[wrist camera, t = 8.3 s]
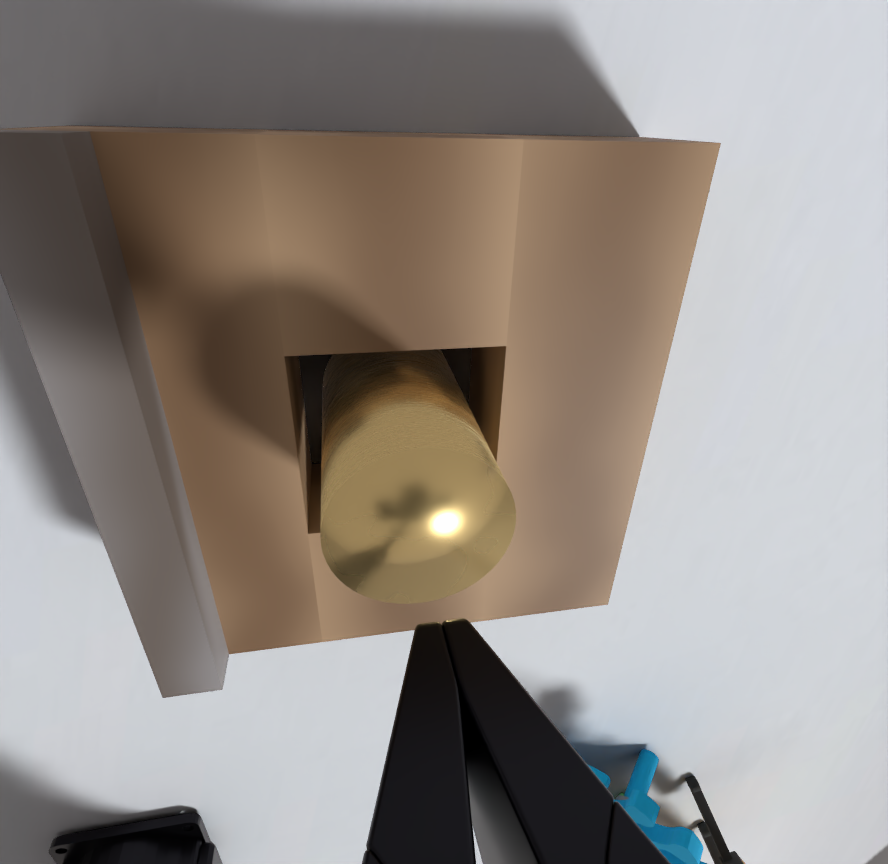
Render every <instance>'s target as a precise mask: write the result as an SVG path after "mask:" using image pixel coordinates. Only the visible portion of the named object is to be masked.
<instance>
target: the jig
mask: <svg viewBox="0 0 888 864" xmlns="http://www.w3.org/2000/svg"><path fill="white" fill-rule="evenodd" d="M720 144H721V143H712V142H699V141H686V140H673V139H659V138H646V137H609V136H559V135H510V134H461V133H411V132H362V131H312V130H263V129H214V128H164V127H115V126H51V127H29V128H7V129H0V273H1V276H2V278H3V281H4V284H5V286H6V289H7V292H8V294H9V297H10V299H11V302H12V305H13V307H14V310H15V312H16V315H17V318H18V320H19V323H20V326H21V328H22V331H23V333H24V336H25V339H26V341H27V344H28V346H29V349H30V352H31V354H32V357H33V360H34V362H35V365H36V367H37V370H38V373H39V375H40V378H41V381H42V383H43V386H44V388H45V391H46V394H47V396H48V399H49V401H50V404H51V407H52V409H53V412H54V415H55V417H56V420H57V422H58V425H59V428H60V430H61V433H62V435H63V438H64V441H65V443H66V446H67V449H68V451H69V454H70V456H71V459H72V462H73V464H74V467H75V469H76V472H77V475H78V477H79V480H80V483H81V485H82V488H83V490H84V493H85V496H86V498H87V501H88V503H89V506H90V509H91V511H92V514H93V517H94V519H95V522H96V524H97V527H98V530H99V532H100V535H101V538H102V540H103V543H104V545H105V548H106V551H107V553H108V556H109V558H110V561H111V564H112V566H113V569H114V572H115V574H116V577H117V579H118V582H119V585H120V587H121V590H122V592H123V595H124V598H125V600H126V603H127V606H128V608H129V611H130V613H131V616H132V619H133V621H134V624H135V626H136V629H137V632H138V634H139V637H140V640H141V642H142V645H143V647H144V650H145V653H146V655H147V658H148V660H149V663H150V666H151V668H152V671H153V674H154V676H155V679H156V681H157V684H158V687H159V689H160V692H161V695H162V697H163V698H166V697H173V696H180V695H187V694H194V693H201V692H208V691H215V690H222V689H223V684H224V678H225V673H226V668H227V662H228V657H229V654H234V653H242V652H250V651H257V650H265V649H272V648H280V647H288V646H295V645H303V644H311V643H318V642H326V641H333V640H341V639H349V638H356V637H364V636H371V635H379V634H387V633H394V632H402V631H409V630H415V628H416V626H417V625H418V624H422V623H429V622H440V623H441V625H442V622H443V621H445V620H452V619H460V618H464V619H467V620H468V621H469V622H478V621H485V620H493V619H501V618H508V617H516V616H523V615H531V614H539V613H546V612H554V611H561V610H569V609H577V608H584V607H592V606H600V605H607V604H608V602H609V598H610V594H611V590H612V585H613V581H614V577H615V573H616V569H617V565H618V561H619V557H620V553H621V549H622V545H623V541H624V536H625V532H626V528H627V524H628V520H629V516H630V512H631V508H632V504H633V500H634V496H635V491H636V487H637V483H638V479H639V475H640V471H641V467H642V463H643V459H644V455H645V451H646V447H647V442H648V438H649V434H650V430H651V426H652V422H653V418H654V414H655V410H656V406H657V402H658V397H659V393H660V389H661V385H662V381H663V377H664V373H665V369H666V365H667V361H668V357H669V352H670V348H671V344H672V340H673V336H674V332H675V328H676V324H677V320H678V316H679V312H680V308H681V303H682V299H683V295H684V291H685V287H686V283H687V279H688V275H689V271H690V267H691V263H692V258H693V254H694V250H695V246H696V242H697V238H698V234H699V230H700V226H701V222H702V218H703V214H704V209H705V205H706V201H707V197H708V193H709V189H710V185H711V181H712V177H713V173H714V169H715V164H716V160H717V156H718V152H719V148H720ZM454 348H472V350H471V370H470V390H469V407H470V409H471V411H472V413H473V415H474V418H475V420H476V422H477V424H478V426H479V428H480V430H481V432H482V434H483V436H484V438H485V440H486V442H487V444H488V446H489V448H490V450H491V452H492V454H493V456H494V458H495V460H496V462H497V464H498V466H499V469H500V471H501V473H502V475H503V477H504V479H505V481H506V483H507V485H508V487H509V489H510V491H511V493H512V496H513V499H514V502H515V508H516V525H515V530H514V534H513V537H512V540H511V543H510V545H509V547H508V548H507V550H506V552H505V554H504V555H503V557H502V558H501V559H500V561H499V562H498V563H497V564H496V565H495V567H494V568H493V569H492V570H491V571H489V572H488V573H487V574H486V575H485V576H484V577H483V578H481V579H480V580H479V581H477V582H476V583H474V584H473V585H471V586H469V587H468V588H466V589H464V590H462V591H460V592H458V593H456V594H453V595H450V596H448V597H445V598H441V599H438V600H434V601H429V602H423V603H413V604H397V603H388V602H383V601H378V600H374V599H371V598H368V597H366V596H363V595H361V594H359V593H357V592H355V591H353V590H352V589H350V588H349V587H347V586H346V585H345V584H343V583H342V582H341V581H340V580H339V579H338V578H337V577H336V576H335V575H334V573H333V572H332V571H331V569H330V568H329V566H328V564H327V563H326V560H325V558H324V555H323V552H322V547H321V537H320V524H321V463H318V464H312V463H311V454H310V446H309V438H308V429H307V421H306V413H305V404H304V396H303V388H302V379H301V371H300V363H299V356H302V355H324V354H345V353H367V352H389V351H410V350H432V349H454Z"/></svg>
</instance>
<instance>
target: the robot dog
mask: <svg viewBox="0 0 888 864" xmlns="http://www.w3.org/2000/svg"><path fill="white" fill-rule="evenodd" d="M686 781H687V784H688V786H689V788H690V790H691V792H692V794H693V796H694V799H695V801H696V803H697V805H698V808H699V810H700V812H701V814H702V816H703V819H704V821H705V822H702V823H700V824H697V825H698V828H699V830H700V832H701V834H702V836H703V839H704V841H705V843H706V845H707V848H708V850H709V852H710V854H711V857H712V859H713V861H714V863H715V864H745V862H744V861H743V860H742V859H741V858H740V857H739V856H738V854H737V853H736V852H735V851H733V852H729V850H728V848H727V846H726V843H725V841H724V839H723V837H722V835H721V832H720V830H719V828H718V826H717V824H716V821H715V819H714V817H713V815H712V813H711V810H710V808H709V806H708V804H707V802H706V799H705V797H704V795H703V793H702V791H701V788H700V786H699V783H698V781H697V780H696V778H695V776H691V777H689V778H686Z"/></svg>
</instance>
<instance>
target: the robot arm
mask: <svg viewBox="0 0 888 864" xmlns="http://www.w3.org/2000/svg"><path fill="white" fill-rule="evenodd" d="M613 801H614V797H613V795H612V794H611V793H610V791H609V790H608V789H607V788H606V787H605V785H604V784H603V783H602V782H601V781H600V779H599V778H598V777H597V776H596V775H595V773H594V772H593V771H592V770H591V768H590V767H589V766H588V765H587V764H586V762H585V761H584V760H583V759H582V758H581V756H580V755H579V754H578V753H577V752H576V750H575V749H574V748H573V747H572V745H571V744H570V743H569V742H568V741H567V739H566V738H565V737H564V736H563V735H562V733H561V732H560V731H559V730H558V729H557V727H556V726H555V725H554V724H553V722H552V721H551V720H550V719H549V718H548V716H547V715H546V714H545V713H544V712H543V710H542V709H541V708H540V707H539V706H538V704H537V703H536V702H535V701H534V699H533V698H532V697H531V696H530V695H529V693H528V692H527V691H526V690H525V689H524V687H523V686H522V685H521V684H520V682H519V681H518V680H517V679H516V678H515V676H514V675H513V674H512V673H511V672H510V670H509V669H508V668H507V667H506V666H505V664H504V663H503V662H502V661H501V659H500V658H499V657H498V656H497V655H496V653H495V652H494V651H493V650H492V649H491V647H490V646H489V645H488V644H487V643H486V641H485V640H484V639H483V638H482V636H481V635H480V634H479V633H478V632H477V630H476V629H475V628H474V627H473V626H472V624H471V623H470V622H469V621H468V620H467V619H464V618H460V619H452V620H445V621H443V622H442V625H441V623H440V622H429V623H422V624H418V625H417V626H416V628H415V632H414V636H413V641H412V645H411V650H410V654H409V658H408V663H407V667H406V672H405V676H404V681H403V685H402V690H401V694H400V698H399V703H398V707H397V712H396V716H395V721H394V725H393V729H392V734H391V738H390V743H389V747H388V752H387V756H386V761H385V765H384V769H383V774H382V778H381V783H380V787H379V792H378V796H377V801H376V805H375V809H374V814H373V818H372V823H371V827H370V832H369V836H368V840H367V845H366V846H367V851H365V853H364V857H363V861H362V864H476V859H475V848H474V838H473V828H474V832H475V836H476V839H477V843H478V847H479V851H480V854H481V858H482V862H483V864H671V863H670V862H669V861H668V860H667V859H666V857H665V856H664V855H663V854H662V853H661V852H660V851H659V849H658V848H657V847H656V846H655V845H654V844H653V842H652V841H651V840H650V839H649V838H648V837H647V836H646V834H645V833H644V832H643V831H642V830H641V829H640V828H639V826H638V825H637V824H636V823H635V821H634V820H633V819H632V818H631V817H630V815H629V814H628V813H627V812H626V811H625V809H624V808H623V807H622V806H621V804H620V803H619V802H617V801H615V802H614V803H613ZM472 825H473V827H472ZM49 853H50V855H51V856H52V858H53V859H54V860H55V862H56V863H57V864H222V861H221V859H220V856H219V854H218V851H217V849H216V846H215V845H214V844H213V843H212V842H211V841H210V839H209V836H208V834H207V831H206V829H205V826H204V823H203V821H202V818H201V817H200V815H198V814H194V813H190V814H183V815H177V816H172V817H166V818H160V819H155V820H149V821H143V822H137V823H132V824H126V825H120V826H115V827H109V828H103V829H98V830H92V831H86V832H80V833H75V834H69V835H63V836H59V837H56V838H55V839H54V840H53V841H52V844H51V847H50V849H49Z"/></svg>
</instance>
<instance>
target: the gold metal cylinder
mask: <svg viewBox="0 0 888 864" xmlns="http://www.w3.org/2000/svg"><path fill="white" fill-rule="evenodd" d="M515 525H516V508H515V502H514V499H513V496H512V493H511V491H510V489H509V487H508V485H507V483H506V481H505V479H504V477H503V475H502V473H501V471H500V469H499V466H498V464H497V462H496V460H495V458H494V456H493V454H492V452H491V450H490V448H489V446H488V444H487V442H486V440H485V438H484V436H483V434H482V432H481V430H480V428H479V426H478V424H477V422H476V420H475V418H474V415H473V413H472V411H471V409H470V407H469V405H468V403H467V401H466V399H465V397H464V395H463V393H462V391H461V389H460V387H459V385H458V383H457V381H456V379H455V377H454V375H453V373H452V371H451V369H450V366H449V364H448V362H447V360H446V358H445V356H444V354H443V353H442V352H441V350H440V349H432V350H410V351H389V352H367V353H345V354H332V356H331V358H330V359H329V361H328V364H327V366H326V368H325V372H324V376H323V396H322V460H321V524H320V537H321V547H322V552H323V555H324V558H325V560H326V563H327V564H328V566H329V568H330V569H331V571H332V572H333V573H334V575H335V576H336V577H337V578H338V579H339V580H340V581H341V582H342V583H343V584H345V585H346V586H347V587H349V588H350V589H352V590H353V591H355V592H357V593H359V594H361V595H363V596H366V597H368V598H371V599H374V600H378V601H383V602H388V603H397V604H413V603H423V602H429V601H434V600H438V599H441V598H445V597H448V596H450V595H453V594H456V593H458V592H460V591H462V590H464V589H466V588H468V587H469V586H471V585H473V584H474V583H476V582H477V581H479V580H480V579H481V578H483V577H484V576H485V575H486V574H487V573H488V572H489V571H491V570H492V569H493V568H494V567H495V565H496V564H497V563H498V562H499V561H500V559H501V558H502V557H503V555H504V554H505V552H506V550H507V548H508V547H509V545H510V543H511V540H512V537H513V534H514V530H515Z"/></svg>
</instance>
